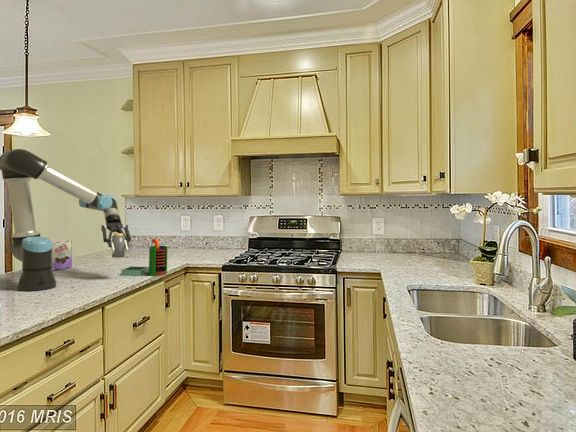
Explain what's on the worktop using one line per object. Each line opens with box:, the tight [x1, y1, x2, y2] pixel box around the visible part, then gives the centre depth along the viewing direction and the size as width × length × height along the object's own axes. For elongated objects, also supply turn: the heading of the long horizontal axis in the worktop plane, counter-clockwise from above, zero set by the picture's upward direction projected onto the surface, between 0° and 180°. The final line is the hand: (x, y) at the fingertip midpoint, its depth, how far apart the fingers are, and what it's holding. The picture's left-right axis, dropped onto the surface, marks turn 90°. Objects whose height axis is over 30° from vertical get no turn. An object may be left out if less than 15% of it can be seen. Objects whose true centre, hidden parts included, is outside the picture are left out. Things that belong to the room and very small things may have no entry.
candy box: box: [51, 240, 73, 272], centre depth 226 cm, size 14×6×16 cm, turn 160°
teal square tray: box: [120, 266, 149, 277], centre depth 217 cm, size 11×12×3 cm
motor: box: [148, 238, 168, 277], centre depth 216 cm, size 10×9×20 cm
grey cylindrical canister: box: [111, 232, 126, 259], centre depth 202 cm, size 6×6×12 cm
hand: (120, 251), depth 199 cm, fingers closed on grey cylindrical canister, 6 cm apart
